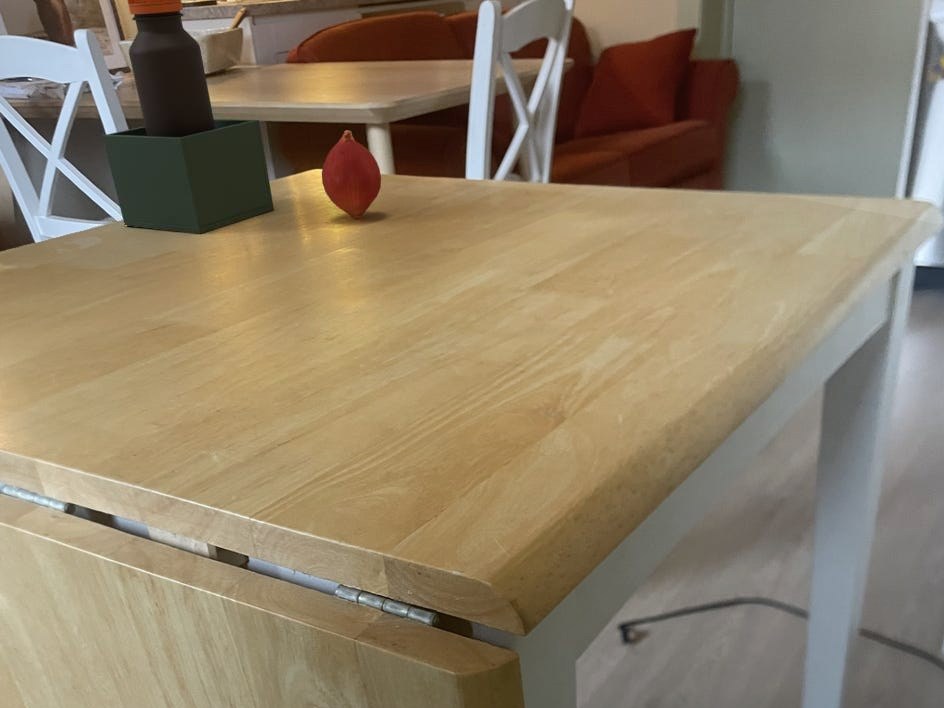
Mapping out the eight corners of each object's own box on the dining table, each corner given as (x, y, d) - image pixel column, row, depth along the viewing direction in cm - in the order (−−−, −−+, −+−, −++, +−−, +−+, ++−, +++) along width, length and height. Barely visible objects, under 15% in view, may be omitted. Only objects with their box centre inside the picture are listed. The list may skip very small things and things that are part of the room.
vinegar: (244, 207, 106) (203, -19, 95) (197, 221, 102) (148, -14, 90) (199, 203, 110) (154, -16, 98) (151, 216, 105) (98, -11, 94)
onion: (315, 221, 101) (302, 133, 97) (354, 209, 105) (344, 124, 100) (358, 227, 98) (346, 136, 93) (396, 214, 102) (388, 126, 97)
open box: (200, 233, 100) (180, 138, 95) (124, 226, 105) (102, 135, 100) (274, 209, 107) (259, 119, 102) (200, 203, 112) (182, 118, 108)
